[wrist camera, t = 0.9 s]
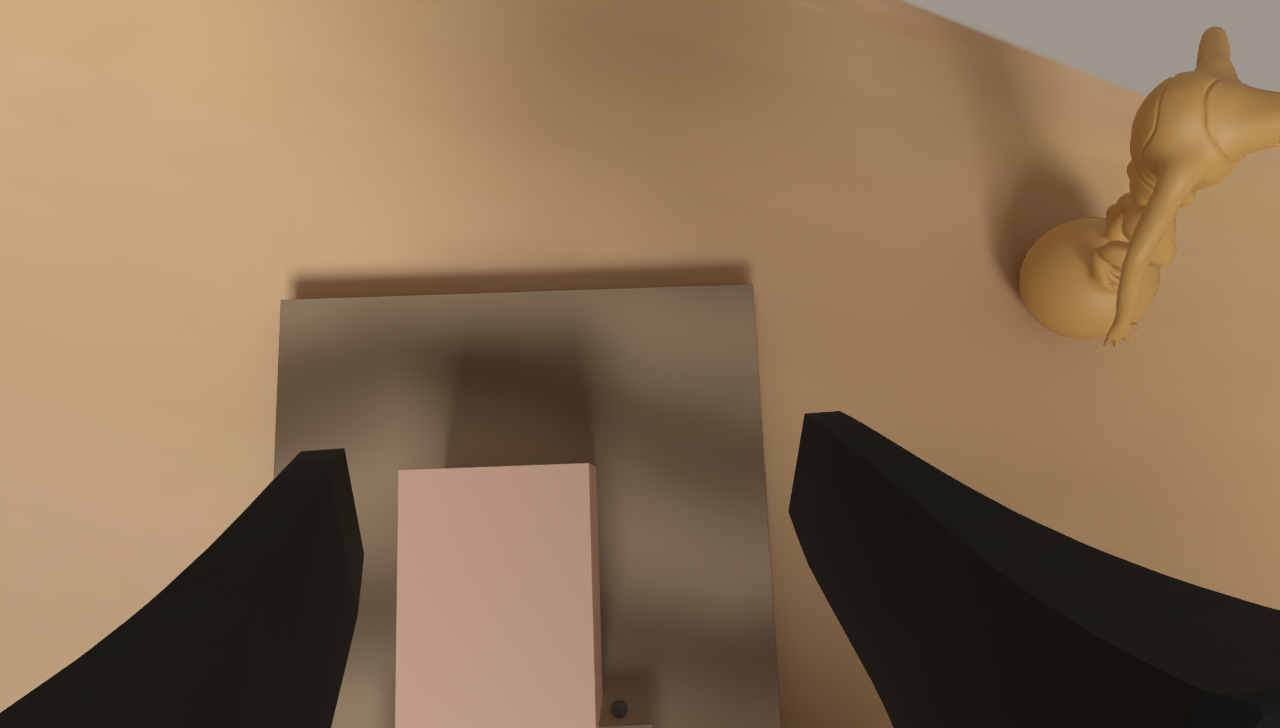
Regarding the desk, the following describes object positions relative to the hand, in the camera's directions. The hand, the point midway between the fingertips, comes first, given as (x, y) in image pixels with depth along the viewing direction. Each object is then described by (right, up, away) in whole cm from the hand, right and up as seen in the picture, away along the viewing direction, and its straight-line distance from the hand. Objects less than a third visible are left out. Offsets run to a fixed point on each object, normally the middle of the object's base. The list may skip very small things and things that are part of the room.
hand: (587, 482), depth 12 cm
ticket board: (-3, -7, +13) cm, 15 cm away
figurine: (+15, +5, +15) cm, 22 cm away
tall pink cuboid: (-3, -5, +12) cm, 13 cm away
